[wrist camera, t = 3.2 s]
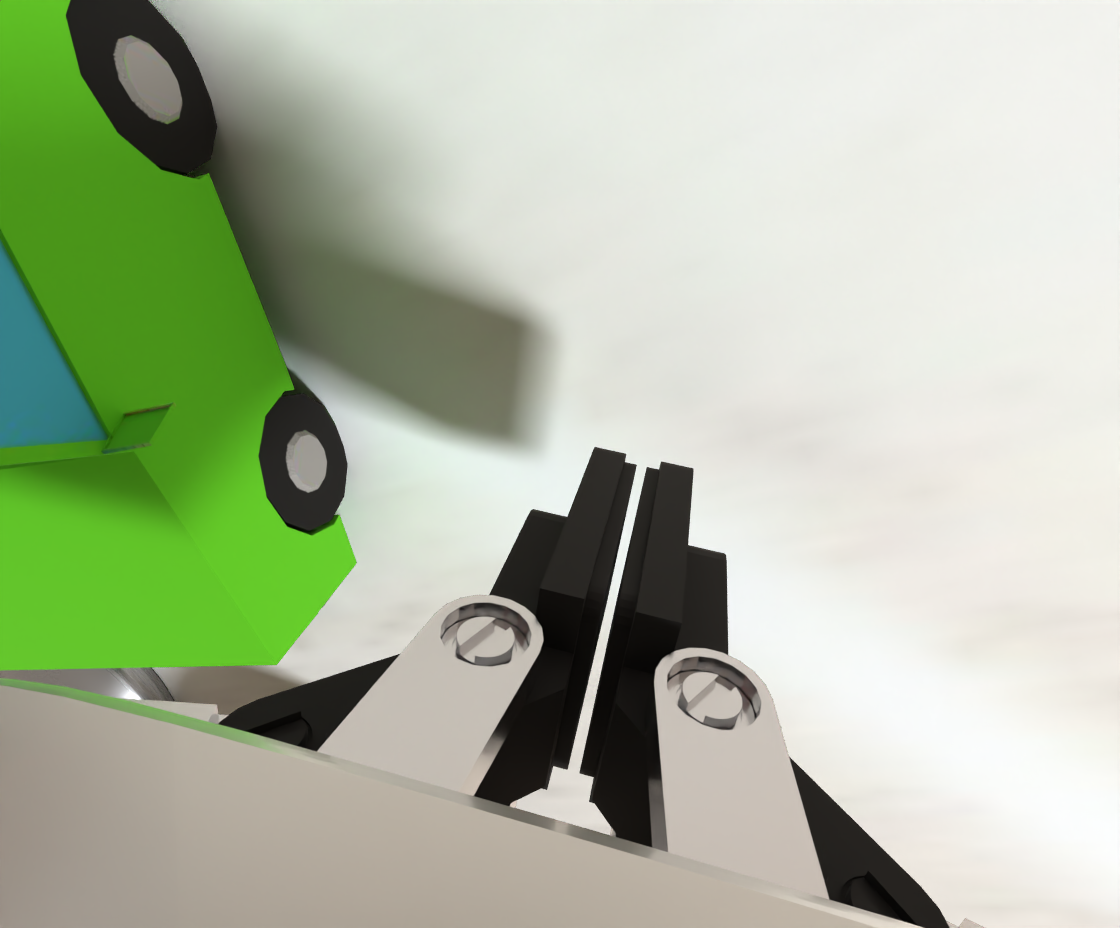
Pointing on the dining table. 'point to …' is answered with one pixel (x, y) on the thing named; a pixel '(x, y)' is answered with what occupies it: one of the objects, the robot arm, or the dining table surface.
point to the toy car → (141, 372)
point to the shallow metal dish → (100, 681)
